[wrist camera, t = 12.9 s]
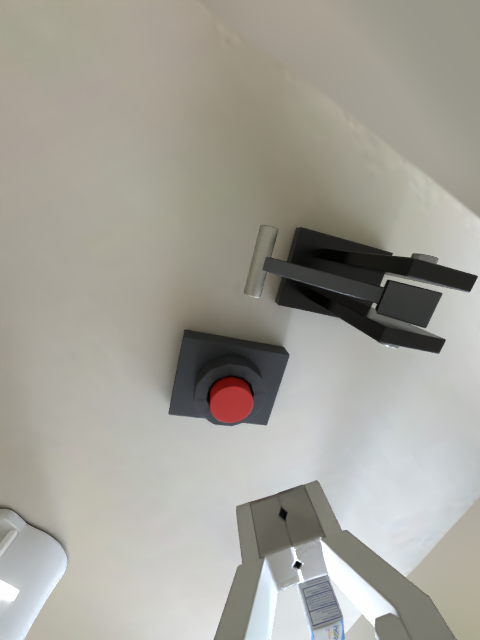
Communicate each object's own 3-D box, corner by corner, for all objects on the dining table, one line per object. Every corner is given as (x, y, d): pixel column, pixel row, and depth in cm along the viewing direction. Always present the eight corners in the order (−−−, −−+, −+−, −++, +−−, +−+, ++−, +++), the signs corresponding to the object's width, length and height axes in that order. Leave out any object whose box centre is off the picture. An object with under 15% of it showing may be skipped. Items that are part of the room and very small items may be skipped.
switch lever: (250, 291, 22) (237, 293, 20) (266, 227, 21) (255, 222, 19) (408, 344, 18) (414, 353, 16) (444, 266, 16) (456, 264, 14)
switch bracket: (274, 301, 26) (329, 353, 15) (296, 227, 24) (379, 220, 13) (358, 319, 28) (464, 377, 17) (385, 252, 26) (527, 265, 15)
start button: (206, 408, 25) (206, 420, 23) (214, 373, 24) (215, 383, 22) (244, 413, 26) (247, 425, 24) (254, 379, 25) (258, 389, 23)
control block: (170, 403, 28) (165, 428, 25) (184, 329, 26) (181, 345, 22) (263, 414, 31) (271, 438, 27) (284, 347, 28) (296, 364, 24)
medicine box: (288, 548, 39) (310, 630, 31) (315, 540, 40) (344, 619, 32) (294, 578, 42) (316, 660, 34) (320, 570, 42) (347, 650, 34)
